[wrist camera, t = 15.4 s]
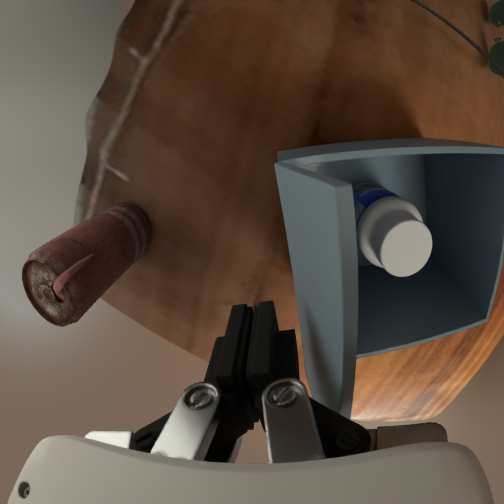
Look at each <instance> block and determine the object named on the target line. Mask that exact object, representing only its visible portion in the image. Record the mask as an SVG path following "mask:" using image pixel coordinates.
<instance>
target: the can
mask: <svg viewBox="0 0 504 504" xmlns="http://www.w3.org/2000/svg"><path fill="white" fill-rule="evenodd" d="M151 235H152V233H151V227H150V224H149V222H148V220H147V217H146V216H145V215H144V214H143V213H142V211H141V210H140V209H138V208H137V207H135V206H133V205H131V204H126V203H122V204H117V205H115V206H113V207H111V208H109V209H107V210H105V211H103V212H101V213H99V214H97V215H95V216H93V217H91V218H90V219H88V220H86V221H84V222H82V223H80V224H79V225H77V226H75V227H73V228H71V229H70V230H68V231H66V232H64V233H63V234H61V235H59V236H58V237H56V238H54V239H52V240H51V241H49V242H47V243H46V244H44V245H42V246H41V247H39V248H38V249H36V250H35V251H33V252H32V253H31V254H30V255H29V257H28V260H27V262H26V263H25V264H24V266H23V269H22V281H23V286H24V289H25V292H26V294H27V297H28V299H29V300H30V302H31V303H32V305H33V307H34V308H35V309H36V310H37V312H38V313H39V314H40V315H41V316H42V317H43V318H44V319H46V320H47V321H48V322H50V323H52V324H54V325H56V326H62V327H63V326H66V325H68V324H72V323H75V322H77V321H78V320H79V319H80V318H81V317H82V316H83V314H85V312H87V310H88V309H89V308H90V307H91V306H92V305H93V304H94V303H95V302H96V300H98V299H99V298H100V297H101V296H102V294H103V293H104V292H105V291H106V290H107V289H108V288H109V287H110V286H111V285H112V284H113V283H114V282H115V281H116V280H117V279H118V278H119V277H120V276H121V275H122V274H123V273H124V272H125V271H126V270H127V269H128V268H129V267H130V266H131V265H132V264H133V263H134V262H135V261H136V260H137V259H138V258H139V257H140V256H141V255H143V253H144V252H145V251H146V250H147V249H148V247H149V245H150V243H151Z"/></svg>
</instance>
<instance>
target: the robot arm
mask: <svg viewBox="0 0 504 504" xmlns="http://www.w3.org/2000/svg"><path fill="white" fill-rule="evenodd" d="M259 419H260V421H261V424H262V427H263V429H264V431H265V432H266V438H267V446H268V455H269V464H268V463H267V464H240V463H235V460H236V457H237V454H238V451H239V448H240V445H241V442H242V435H243V434H245V433H246V432H247V430H252V429H254V422H258V421H259ZM7 504H494V502H493V498H492V494H491V490H490V486H489V483H488V481H487V478H486V475H485V472H484V470H483V468H482V466H481V464H480V462H479V460H478V458H477V457H476V455H475V454H474V453H473V452H472V451H471V450H470V449H469V448H468V447H466V446H464V445H461V444H458V443H452V442H448V441H447V433H446V430H445V429H444V427H443V426H442V425H440V424H438V423H431V422H428V423H420V424H411V425H399V426H383V427H378V428H377V429H365V428H364V427H363V426H361V425H359V424H357V423H355V422H353V421H351V420H350V419H348V418H346V417H344V416H342V415H340V414H338V413H337V412H335V411H333V410H331V409H330V408H328V407H326V406H324V405H323V404H321V403H319V402H317V401H316V400H314V399H312V398H311V397H309V395H308V392H307V389H306V387H305V385H304V384H303V383H302V382H301V381H300V379H299V362H298V350H297V342H296V335H295V330H294V329H291V330H283V331H279V328H278V322H277V317H276V312H275V307H274V302H273V301H265V302H260V303H259V306H255V309H254V313H253V309H252V307H247V304H240V305H233V306H232V310H231V314H230V317H229V321H228V325H227V329H226V333H225V336H223V337H217V339H216V341H215V345H214V348H213V351H212V355H211V358H210V362H209V365H208V369H207V372H206V375H205V379H204V382H199V383H195V384H193V385H191V386H189V387H188V388H186V389H185V390H184V392H183V393H182V394H181V396H180V398H179V400H178V402H177V404H176V406H175V407H174V409H173V411H172V412H170V413H168V414H166V415H165V416H163V417H161V418H160V419H158V420H156V421H154V422H153V423H151V424H149V425H147V426H145V427H143V428H141V429H140V430H138V431H137V432H136V433H133V432H132V431H93V432H90V433H88V434H87V435H86V436H85V437H80V436H73V435H57V436H51V437H47V438H45V439H43V440H42V441H41V442H40V443H39V444H38V445H37V446H36V448H35V449H34V450H33V452H32V453H31V455H30V456H29V458H28V460H27V462H26V463H25V465H24V467H23V469H22V471H21V473H20V475H19V477H18V479H17V481H16V484H15V486H14V488H13V491H12V493H11V495H10V498H9V500H8V503H7Z"/></svg>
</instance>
